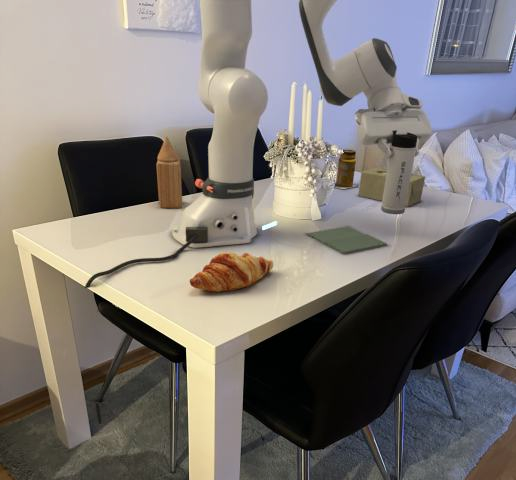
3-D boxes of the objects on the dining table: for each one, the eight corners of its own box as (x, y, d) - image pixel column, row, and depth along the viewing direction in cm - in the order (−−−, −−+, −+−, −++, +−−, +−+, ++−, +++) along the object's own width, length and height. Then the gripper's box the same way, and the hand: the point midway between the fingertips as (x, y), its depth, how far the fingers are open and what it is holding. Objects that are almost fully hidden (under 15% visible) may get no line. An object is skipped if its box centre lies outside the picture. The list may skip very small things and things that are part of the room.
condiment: (357, 186, 182) (362, 151, 176) (343, 189, 177) (347, 154, 171) (341, 182, 187) (345, 147, 180) (327, 185, 182) (330, 150, 175)
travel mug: (386, 206, 140) (398, 128, 130) (408, 211, 137) (422, 132, 126) (375, 210, 136) (387, 131, 126) (397, 216, 133) (412, 135, 122)
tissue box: (357, 195, 171) (363, 146, 163) (370, 190, 177) (377, 143, 169) (408, 207, 161) (418, 155, 153) (421, 201, 167) (431, 151, 159)
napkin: (344, 254, 124) (344, 251, 124) (306, 234, 136) (307, 232, 135) (386, 245, 130) (387, 243, 130) (347, 227, 142) (348, 225, 141)
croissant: (263, 280, 117) (254, 246, 116) (290, 274, 109) (281, 238, 108) (185, 303, 105) (174, 265, 104) (209, 297, 97) (198, 257, 96)
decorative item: (160, 202, 157) (156, 133, 147) (182, 202, 158) (179, 133, 147) (159, 208, 152) (154, 137, 141) (181, 208, 152) (178, 137, 142)
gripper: (358, 100, 125) (374, 150, 122) (426, 100, 131) (442, 146, 129) (347, 117, 131) (362, 165, 128) (412, 116, 137) (428, 161, 135)
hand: (403, 155), depth 128 cm, fingers closed on travel mug, 6 cm apart
